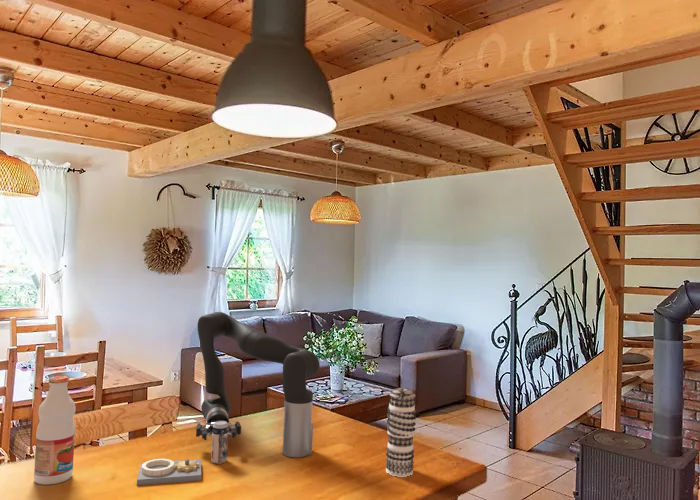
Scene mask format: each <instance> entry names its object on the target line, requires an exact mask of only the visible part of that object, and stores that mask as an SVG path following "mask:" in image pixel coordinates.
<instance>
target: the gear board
mask: <svg viewBox="0 0 700 500" xmlns="http://www.w3.org/2000/svg"><path fill="white" fill-rule="evenodd" d="M197 481H202V459H201V458H198V459H197V458H196V459H185V460H184V459H183V460H179V459H178V460H171V459H169V458H156V459H151V460H147V461H145V462H141V463H140V467H139V470H138V474H137V479H136V486H144V485H145V486H146V485H155V484H157V485H158V484H168V483H170V484H171V483H181V482H183V483H185V482H197Z"/></svg>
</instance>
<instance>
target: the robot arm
mask: <svg viewBox="0 0 700 500" xmlns="http://www.w3.org/2000/svg"><path fill="white" fill-rule="evenodd" d="M197 334H198V339H199V345H200V350H201V355H202V360H203V366H204V377H205V378H204V380H205V383H204V385H205V392H207V393H208V394H211V395H217V396H218V397H215V398H207V399H205V400H204V401H202V403H201V408H200V409H201V410H200V411H201V415H202V417H203V418H204V419H205V420H206V421H205V425H203V424H202V423H201V422H200V423H199V422H198V423H196V428H195V437H196V438H197V437H200V436H201V439H202V440H204V441H207V437H210V436H211V437H212V431H213V424H214V423H215V422H216V421H226V422H227V424H228V436H230V437H231V439H232V440H233V439H235V438H236V437H237V435H242V425H241V423H240V421H235V423H231V422H230V420H229V419H230V418H229V414H230V412H231V403H230V400H229V397H228V395H227V391H226V382H225V369H224V365H223V364H222V363H223V362H221V359H220V358H219V357H218V354H217V353H216V350H215V344H214V343H215V339H216V338H221V337H227V338H230V339H232V340H234V341H235V342H236V344H237V346H238V348H239V349H240V350H241V352H242V353H244V354H246V355H248V356H250V357H252V358H254V359H257V360H260V361H265V362H268V363H269V362H271V363H276V364H281V365H282V391H283V395H284V409H283V434H282V454H283V455H284V456H285V457H290V458H303V457H307V456H311V455H313V439H314V425H313V422H312V421H313V400H314V392H313V391H312V390H310V389H308V388H307V379H308V378H311V377H314V376H315V375H316V374H317V373H319V370H320V367H321V366H320V365H321V364H320V361H319V358H318V357H317V355H316V354H315V353H314V352H313V351H311V350H308V349H305V348H303V347H302V348H301V347H298V346H294V345H292V344H288V343H287V342H284V341H282V340H281V339H278V338H277V337H274V336H272V335H270V334H267V333H266V332H263V331H261V330H258V329H256V328H254V327H252V326H249V325H247V324H245V323H243V322H241V321H238V320H237V319H236V318H234V317H232V316H230V315H229V314H228V313H225V312H223V311H217V312H216V311H215V312H212V313H207V314H204V315H201V316H200V317H199V318H198V320H197Z"/></svg>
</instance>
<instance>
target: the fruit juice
mask: <svg viewBox="0 0 700 500" xmlns="http://www.w3.org/2000/svg"><path fill="white" fill-rule="evenodd" d="M69 379H70V378H69V376H67V375H54V376H50V377H49V378H48V385H49V389H48V392H47V394H46V397H45V399H44V400H42V402H41V403H40V405H39V406H38V411H37V414H38V419H39V423H38V425H37V428H36V434H35V435H36V436H35V450H34V451H35V454H34V467H33V468H34V469H33V470H34V472H33V479H34V482H35V483H36V484H37V485H47V486H50V485H57V484H60V483H63V482H66V481H69V480H70V479H71V478H72V476H73V471H74V453H75V437H76V434H75V433H76V431H75V430H76V424H75V420H74V415H75V414H76V403H75V401H74V400H73V399H72V397H71V395H70V393H69V389H68V383H69Z"/></svg>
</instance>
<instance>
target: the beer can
mask: <svg viewBox="0 0 700 500" xmlns="http://www.w3.org/2000/svg"><path fill="white" fill-rule="evenodd" d="M228 442H229V435H228V424H227V422H226V421H216V422H215V423H214V424H213V431H212V435H211V455H210V456H211V458H210V461H211V462H212V463H213V464H217V465H221V464H224V463H225V462H227V460H228V447H229V446H228V444H229V443H228Z"/></svg>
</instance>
